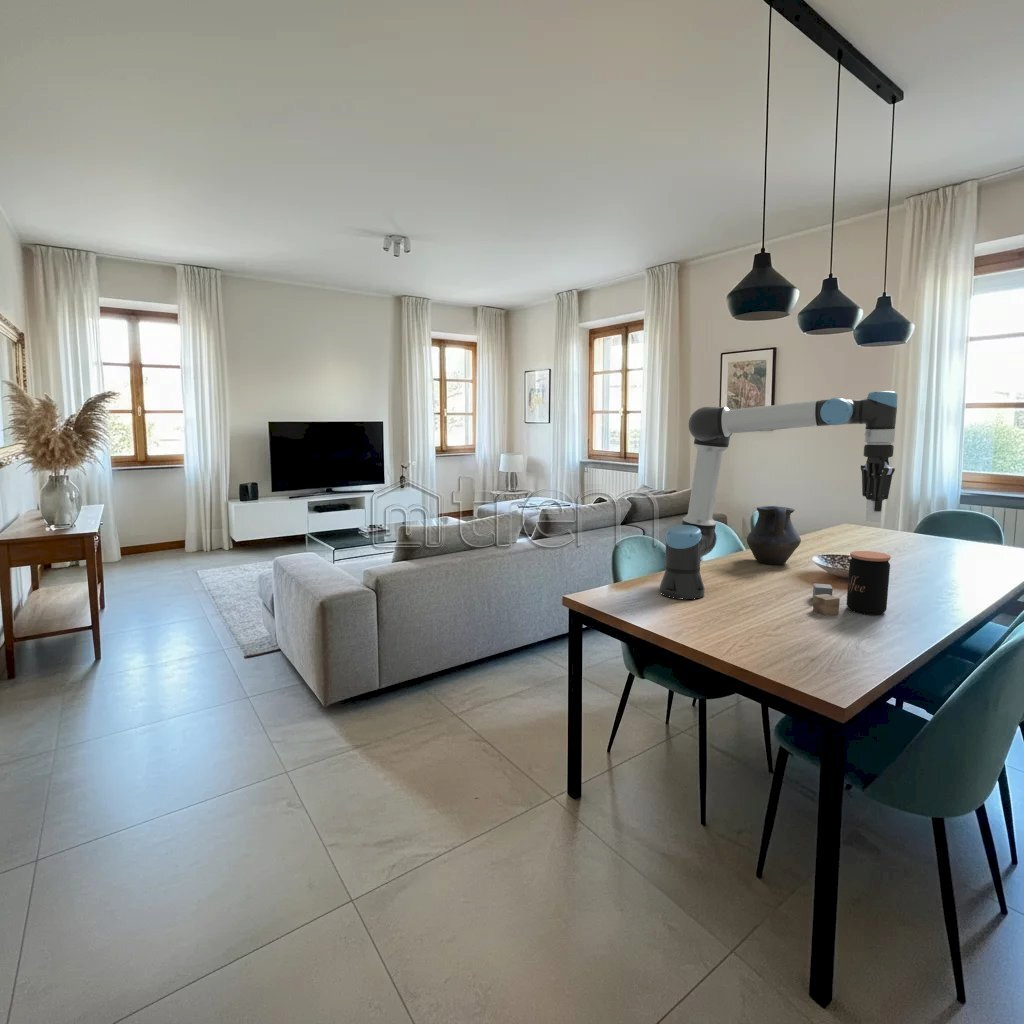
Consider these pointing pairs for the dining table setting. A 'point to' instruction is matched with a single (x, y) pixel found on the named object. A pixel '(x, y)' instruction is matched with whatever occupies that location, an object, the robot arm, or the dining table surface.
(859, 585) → the coffee jar
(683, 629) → the dining table surface
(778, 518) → the pitcher
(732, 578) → the dining table surface
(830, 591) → the grey cube
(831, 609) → the walnut block
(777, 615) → the dining table surface
